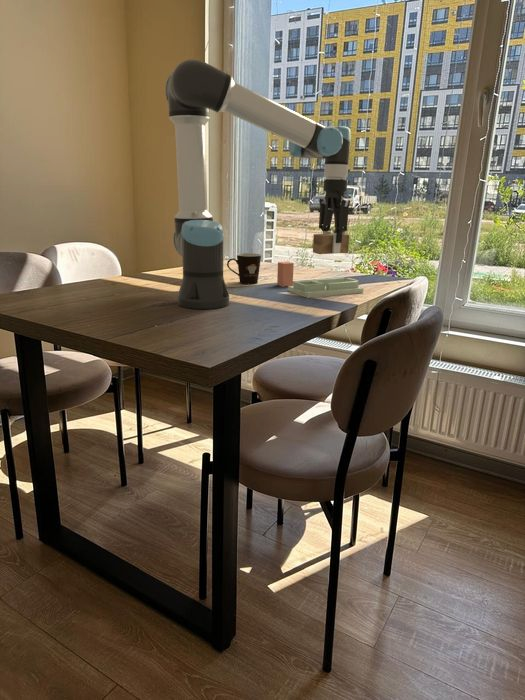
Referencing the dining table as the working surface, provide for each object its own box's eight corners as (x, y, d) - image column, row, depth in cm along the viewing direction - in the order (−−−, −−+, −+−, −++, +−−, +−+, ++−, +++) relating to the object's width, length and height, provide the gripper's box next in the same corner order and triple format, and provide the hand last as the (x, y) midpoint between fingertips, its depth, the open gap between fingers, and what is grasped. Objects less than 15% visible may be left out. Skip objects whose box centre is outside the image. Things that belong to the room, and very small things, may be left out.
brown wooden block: (319, 254, 169) (320, 230, 166) (312, 252, 173) (313, 229, 170) (348, 252, 173) (349, 230, 170) (340, 251, 177) (342, 228, 174)
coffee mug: (261, 281, 189) (262, 253, 186) (259, 285, 180) (259, 256, 177) (230, 279, 190) (230, 252, 187) (226, 284, 181) (226, 255, 178)
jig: (307, 297, 162) (308, 286, 161) (288, 290, 172) (288, 280, 171) (363, 292, 172) (364, 282, 171) (342, 286, 182) (343, 276, 181)
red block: (282, 286, 179) (283, 263, 177) (277, 284, 182) (277, 262, 180) (292, 286, 181) (293, 263, 178) (286, 284, 184) (287, 261, 182)
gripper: (362, 179, 160) (357, 254, 167) (328, 179, 175) (324, 248, 182) (343, 178, 156) (338, 255, 163) (310, 178, 171) (306, 249, 178)
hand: (331, 251), depth 173 cm, fingers closed on brown wooden block, 5 cm apart
